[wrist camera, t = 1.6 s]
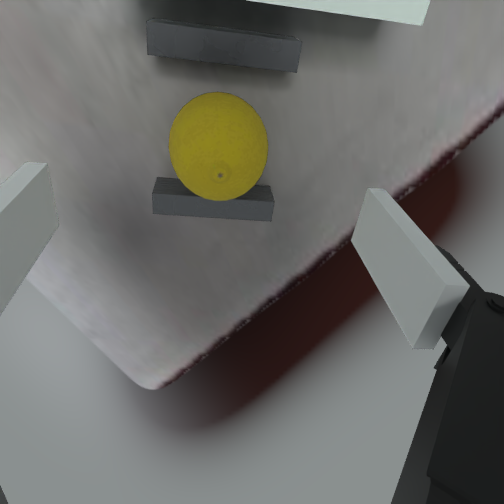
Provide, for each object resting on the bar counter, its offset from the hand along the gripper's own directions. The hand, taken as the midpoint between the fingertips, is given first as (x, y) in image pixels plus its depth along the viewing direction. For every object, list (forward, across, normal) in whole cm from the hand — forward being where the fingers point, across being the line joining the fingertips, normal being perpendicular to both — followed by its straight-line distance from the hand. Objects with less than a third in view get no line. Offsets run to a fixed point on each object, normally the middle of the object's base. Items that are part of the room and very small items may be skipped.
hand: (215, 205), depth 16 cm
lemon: (+11, 0, 0) cm, 11 cm away
